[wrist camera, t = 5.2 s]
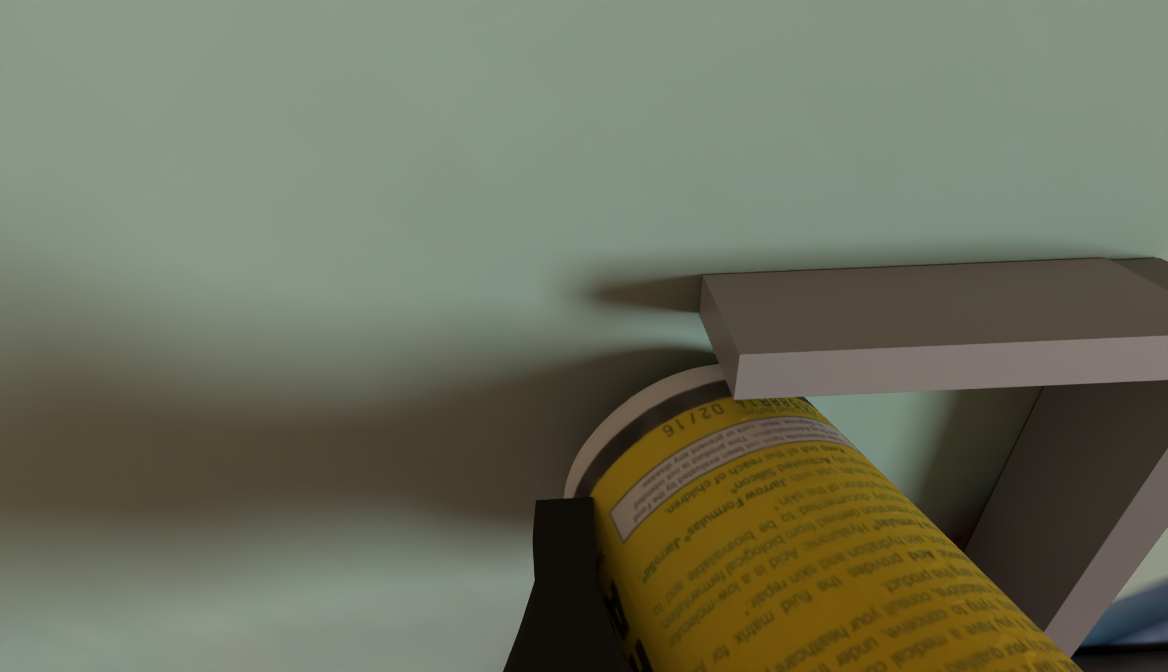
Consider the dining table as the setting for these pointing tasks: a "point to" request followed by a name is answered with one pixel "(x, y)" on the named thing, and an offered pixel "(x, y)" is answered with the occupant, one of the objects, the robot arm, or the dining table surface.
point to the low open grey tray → (994, 360)
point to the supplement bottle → (778, 547)
